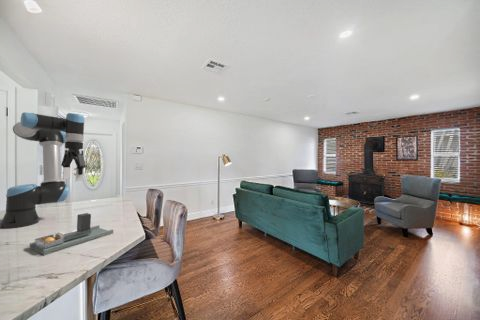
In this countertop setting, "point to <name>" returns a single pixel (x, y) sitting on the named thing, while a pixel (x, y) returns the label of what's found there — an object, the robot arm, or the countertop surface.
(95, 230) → the grey-green channel tray
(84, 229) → the block
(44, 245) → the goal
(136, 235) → the countertop surface
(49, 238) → the ball
